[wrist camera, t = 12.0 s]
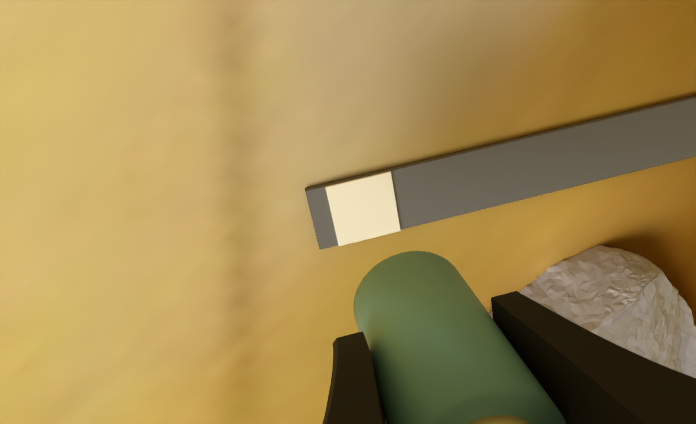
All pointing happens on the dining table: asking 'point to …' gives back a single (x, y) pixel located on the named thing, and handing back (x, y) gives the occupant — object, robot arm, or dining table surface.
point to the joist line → (501, 172)
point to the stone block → (621, 304)
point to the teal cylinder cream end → (442, 349)
